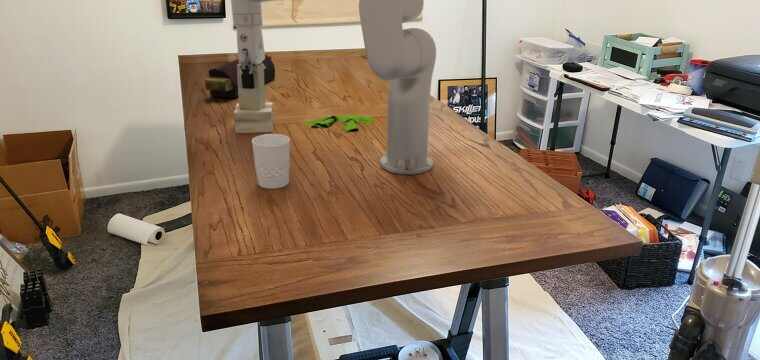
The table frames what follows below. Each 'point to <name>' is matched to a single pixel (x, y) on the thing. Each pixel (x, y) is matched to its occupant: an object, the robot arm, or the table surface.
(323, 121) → the cloth
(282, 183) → the white cup
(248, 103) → the skincare box
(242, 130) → the maple block
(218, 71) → the packaged item
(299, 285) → the table surface
